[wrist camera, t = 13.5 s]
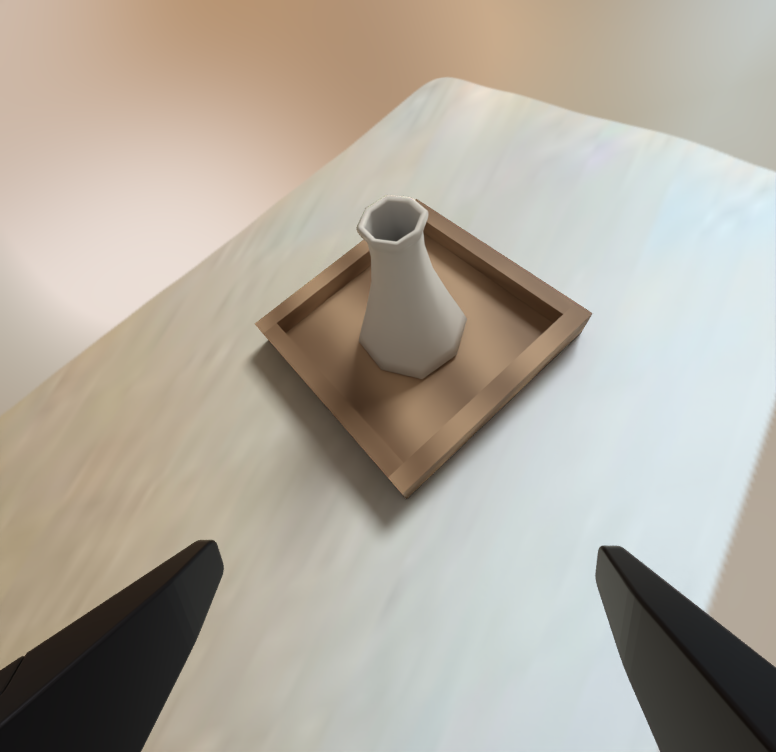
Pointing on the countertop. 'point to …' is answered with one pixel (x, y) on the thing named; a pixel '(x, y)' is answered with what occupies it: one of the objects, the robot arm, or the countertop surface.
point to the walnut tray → (448, 382)
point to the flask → (406, 293)
